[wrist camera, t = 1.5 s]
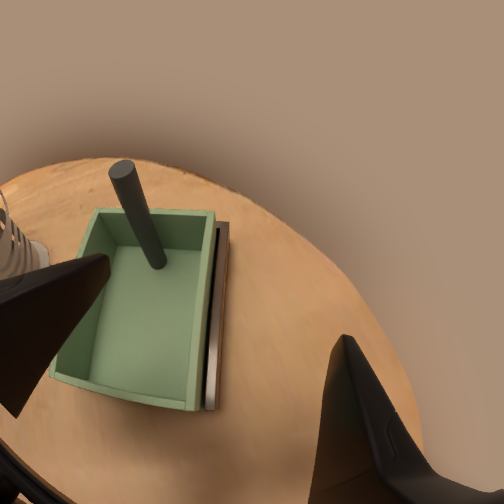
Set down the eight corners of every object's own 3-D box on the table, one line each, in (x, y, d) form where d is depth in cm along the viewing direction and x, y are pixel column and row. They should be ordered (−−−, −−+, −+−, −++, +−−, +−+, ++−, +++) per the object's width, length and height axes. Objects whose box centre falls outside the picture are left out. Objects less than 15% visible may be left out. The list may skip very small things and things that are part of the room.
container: (204, 408, 19) (172, 417, 9) (85, 385, 19) (-12, 356, 8) (217, 249, 27) (211, 147, 17) (115, 243, 27) (69, 153, 16)
